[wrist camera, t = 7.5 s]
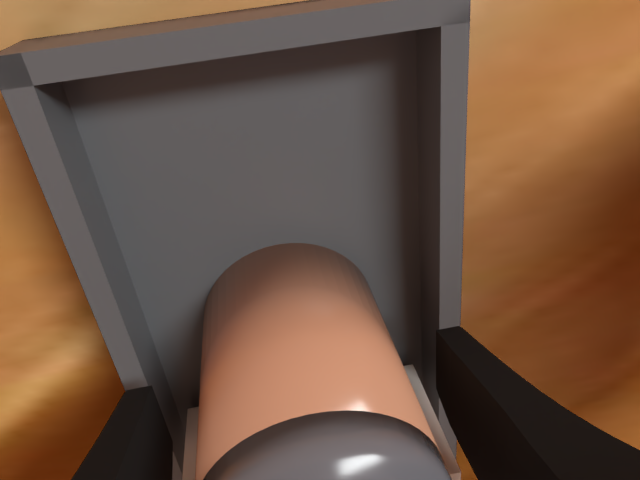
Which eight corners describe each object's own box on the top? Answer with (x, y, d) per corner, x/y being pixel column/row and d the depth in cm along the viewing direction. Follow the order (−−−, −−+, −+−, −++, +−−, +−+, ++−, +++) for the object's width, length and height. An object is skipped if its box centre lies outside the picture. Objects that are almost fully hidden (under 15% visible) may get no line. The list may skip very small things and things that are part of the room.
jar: (367, 229, 15) (470, 431, 8) (376, 363, 17) (461, 593, 11) (185, 260, 14) (157, 496, 8) (222, 393, 17) (221, 650, 11)
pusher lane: (435, -18, 12) (552, 5, 8) (435, 534, 23) (483, 670, 19) (23, 40, 11) (-101, 99, 7) (226, 582, 22) (227, 734, 18)
